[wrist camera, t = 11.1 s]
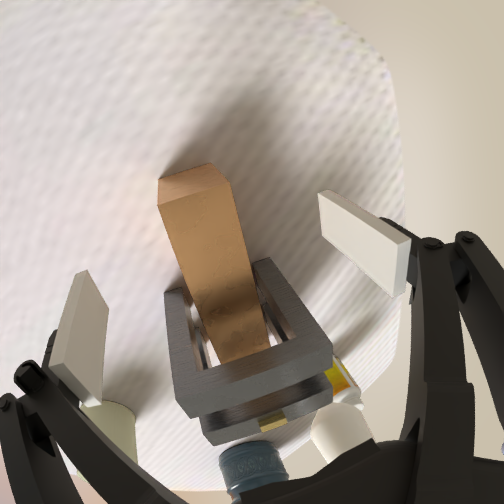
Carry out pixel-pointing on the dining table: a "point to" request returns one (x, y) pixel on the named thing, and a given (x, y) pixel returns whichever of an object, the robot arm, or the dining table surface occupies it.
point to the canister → (251, 467)
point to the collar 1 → (254, 365)
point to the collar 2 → (264, 400)
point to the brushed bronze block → (213, 259)
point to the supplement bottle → (343, 385)
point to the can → (114, 426)
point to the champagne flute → (338, 429)
